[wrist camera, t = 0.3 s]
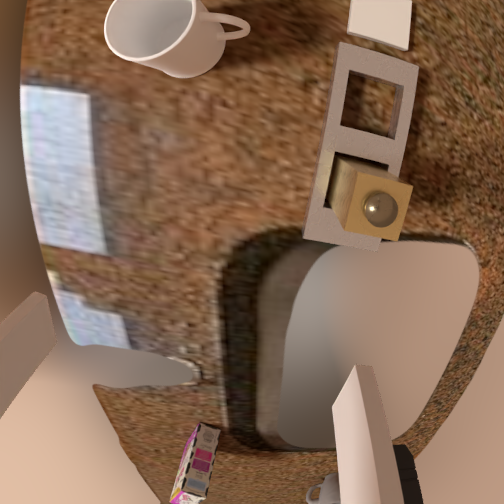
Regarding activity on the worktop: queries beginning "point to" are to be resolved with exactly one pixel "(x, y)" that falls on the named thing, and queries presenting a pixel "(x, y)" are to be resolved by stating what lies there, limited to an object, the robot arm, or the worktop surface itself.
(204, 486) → the candy bar box
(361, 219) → the brass block
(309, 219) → the rail plate
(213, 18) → the mug
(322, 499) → the mug
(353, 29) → the pad
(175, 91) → the worktop surface
